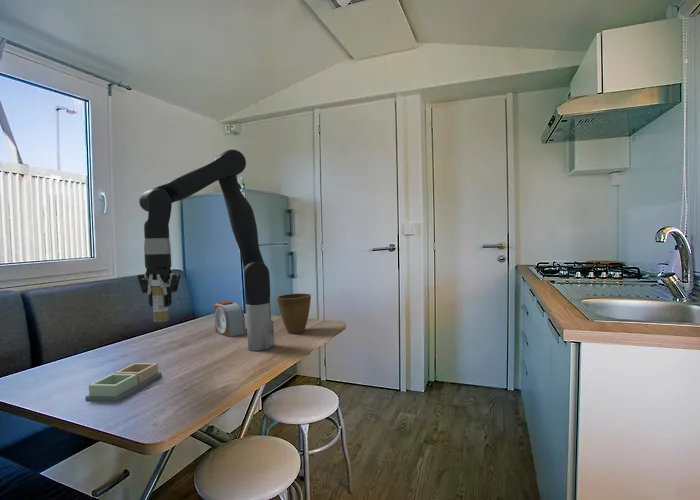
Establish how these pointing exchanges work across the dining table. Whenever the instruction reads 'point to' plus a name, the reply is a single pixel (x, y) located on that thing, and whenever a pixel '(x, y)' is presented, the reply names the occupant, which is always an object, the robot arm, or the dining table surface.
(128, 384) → the socket board
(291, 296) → the plant pot
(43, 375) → the dining table surface
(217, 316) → the alarm clock
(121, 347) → the dining table surface
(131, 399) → the dining table surface
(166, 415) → the dining table surface
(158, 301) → the sprinkles bottle
